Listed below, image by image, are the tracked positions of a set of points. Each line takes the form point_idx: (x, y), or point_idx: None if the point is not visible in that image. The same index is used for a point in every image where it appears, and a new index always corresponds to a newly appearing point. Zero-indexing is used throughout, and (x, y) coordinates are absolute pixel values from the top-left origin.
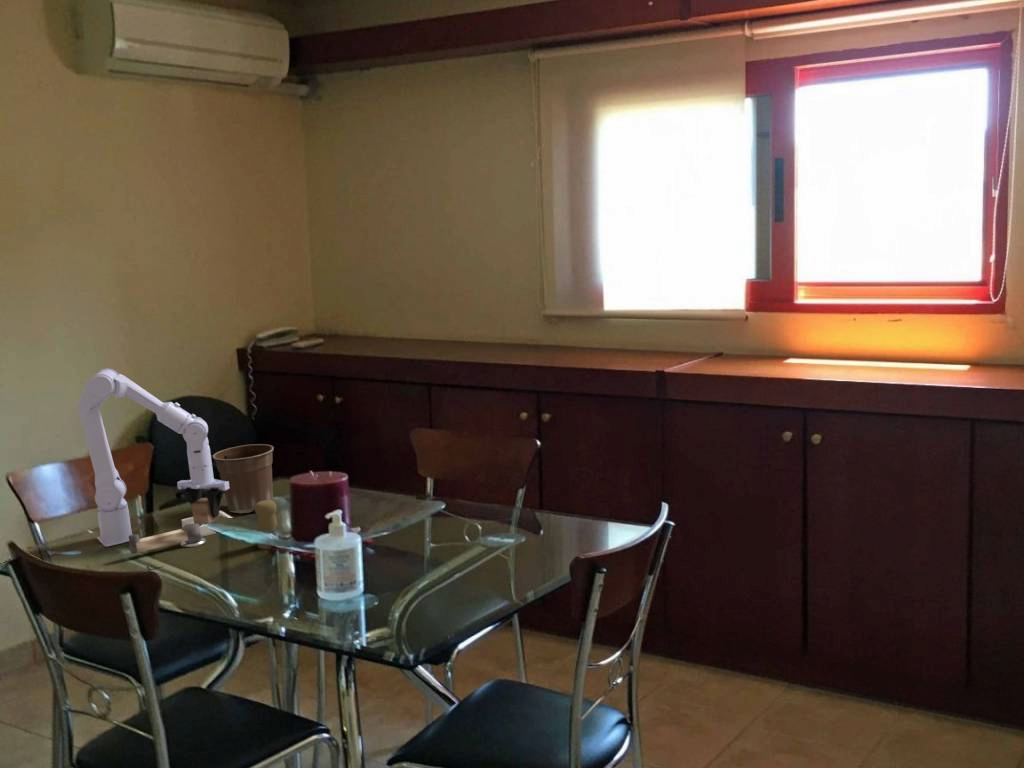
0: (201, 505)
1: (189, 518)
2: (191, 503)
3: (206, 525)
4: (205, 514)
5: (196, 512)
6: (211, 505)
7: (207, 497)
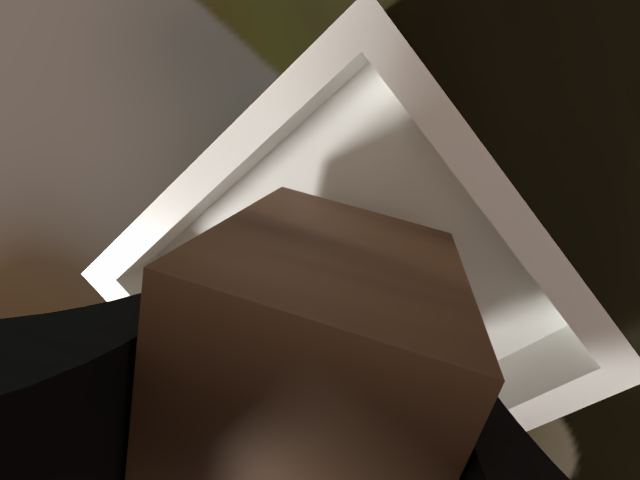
0: (259, 290)
1: (556, 390)
2: (527, 460)
3: (257, 101)
4: (262, 224)
5: (400, 273)
6: (126, 311)
7: (8, 383)
